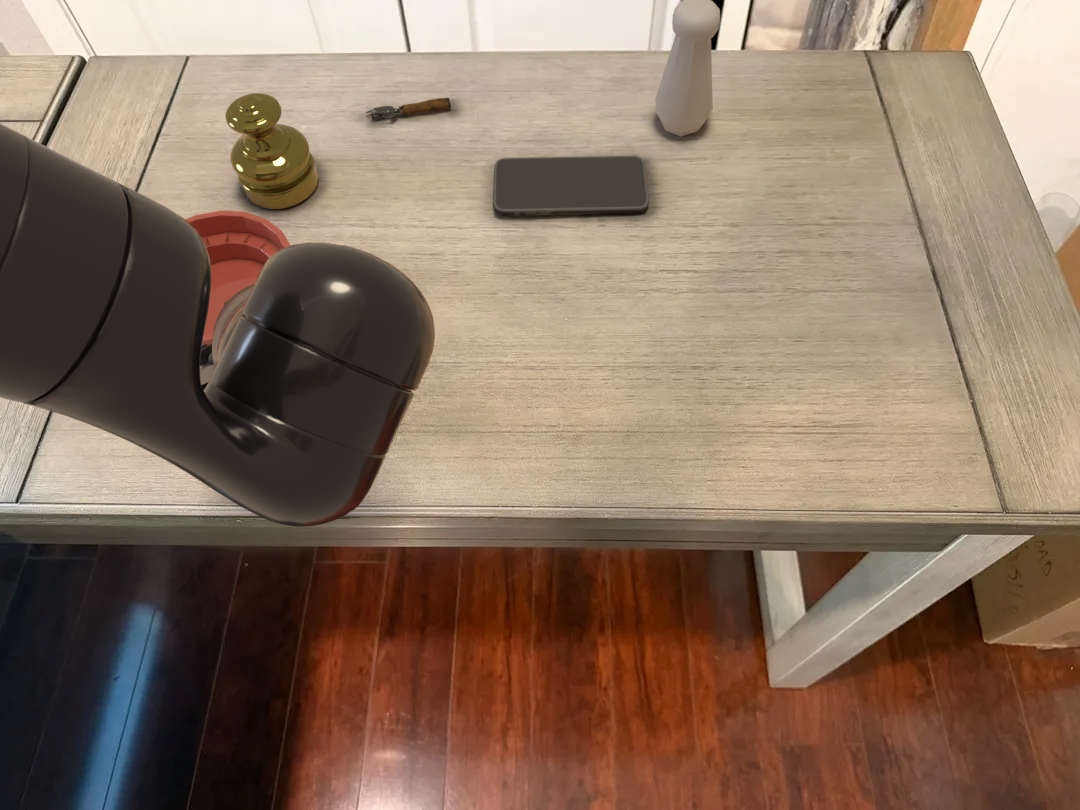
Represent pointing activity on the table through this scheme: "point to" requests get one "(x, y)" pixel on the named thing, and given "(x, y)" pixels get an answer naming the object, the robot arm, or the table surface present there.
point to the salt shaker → (688, 68)
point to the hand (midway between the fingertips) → (266, 329)
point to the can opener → (412, 108)
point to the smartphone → (570, 185)
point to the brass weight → (269, 154)
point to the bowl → (234, 254)
